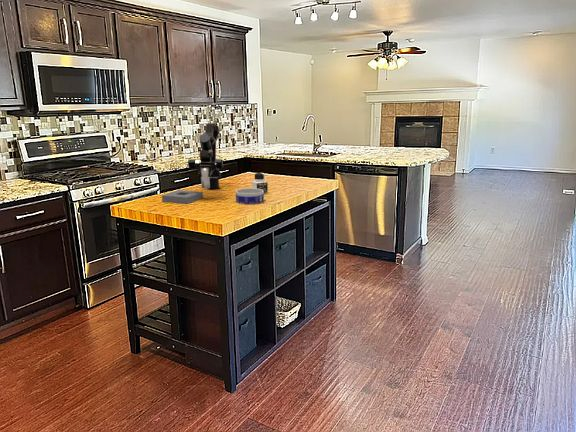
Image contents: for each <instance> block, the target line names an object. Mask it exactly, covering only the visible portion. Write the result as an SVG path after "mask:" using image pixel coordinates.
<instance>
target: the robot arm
mask: <svg viewBox="0 0 576 432" xmlns="http://www.w3.org/2000/svg"><path fill="white" fill-rule="evenodd" d="M204 129H205V130H204V132H202V134H201V135H200V136H199V138H198V141H199V144H200V148H201V150H199V160H196V158H190V159H188V161H187V165H188V169H189V170H196V171H197V172H198V173H199V177H200V178H201V168H202V167H205V166H206V167H207V168H209V180H210V188H208V190H210V191H212V190H220V189H221V188H220V180H221V179H222V178H221V177H222V176H221V171H220V170H221V169H222V170H223V169H224V164H223V163H224V162H223V159H222V158H217V142H218V140H219V135H220V134H221V133H220V131H221V130H220V127H219V125H217V124H216V123H212V122H211V123H210V122H208V123H206V125H205V128H204Z"/></svg>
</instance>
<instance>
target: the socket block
mask: <svg viewBox="0 0 576 432" xmlns="http://www.w3.org/2000/svg"><path fill="white" fill-rule="evenodd" d="M203 198H204V193H203V191H195V190H186V189H185V190H183V189H182V190H181V189H178V190H174V191H171V192H168V193H165V194H163V195H161V201H162V203H174V204H184V205H185V204H186V205H189V204H191V203H193V202H196V201H198V200H201V199H203Z"/></svg>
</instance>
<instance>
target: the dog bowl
mask: <svg viewBox="0 0 576 432" xmlns="http://www.w3.org/2000/svg"><path fill="white" fill-rule="evenodd" d="M264 196H265V194H264V191H263V190H262V189H256V188H252V187H249V188H248V187H247V188H239V189H236V190H235V203H237V202H238V203H237V204H240V203H244V204H243V205H255V204H254V203H258V204H261V203H260V202H262V203H263V202H264V200H265V199H264Z"/></svg>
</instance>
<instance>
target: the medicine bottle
mask: <svg viewBox="0 0 576 432" xmlns="http://www.w3.org/2000/svg"><path fill="white" fill-rule="evenodd" d="M251 182H252V183H251V185H252V186H251V188H256V189H262V190H263V191H264V195H266V194H269V192H268V191H269V187H268V186H269V183H268V181H266V175H265V173H264V172H257V173H256V172H255V174H254V180H252V181H251Z"/></svg>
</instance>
